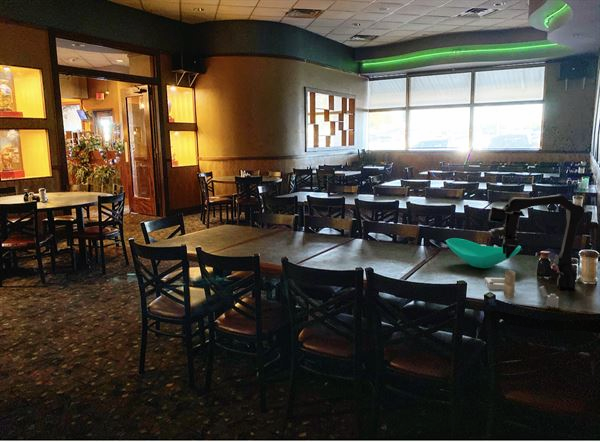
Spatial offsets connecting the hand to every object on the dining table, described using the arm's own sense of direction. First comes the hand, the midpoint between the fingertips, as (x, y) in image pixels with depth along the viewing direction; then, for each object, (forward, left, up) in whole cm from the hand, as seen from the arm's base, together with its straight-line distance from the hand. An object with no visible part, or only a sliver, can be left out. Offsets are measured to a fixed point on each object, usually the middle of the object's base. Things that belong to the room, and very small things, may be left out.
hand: (505, 255), depth 222 cm
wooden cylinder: (-2, +17, -14) cm, 22 cm away
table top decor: (+11, -31, -15) cm, 36 cm away
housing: (+2, +3, -14) cm, 15 cm away
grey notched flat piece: (-17, +25, -15) cm, 33 cm away
